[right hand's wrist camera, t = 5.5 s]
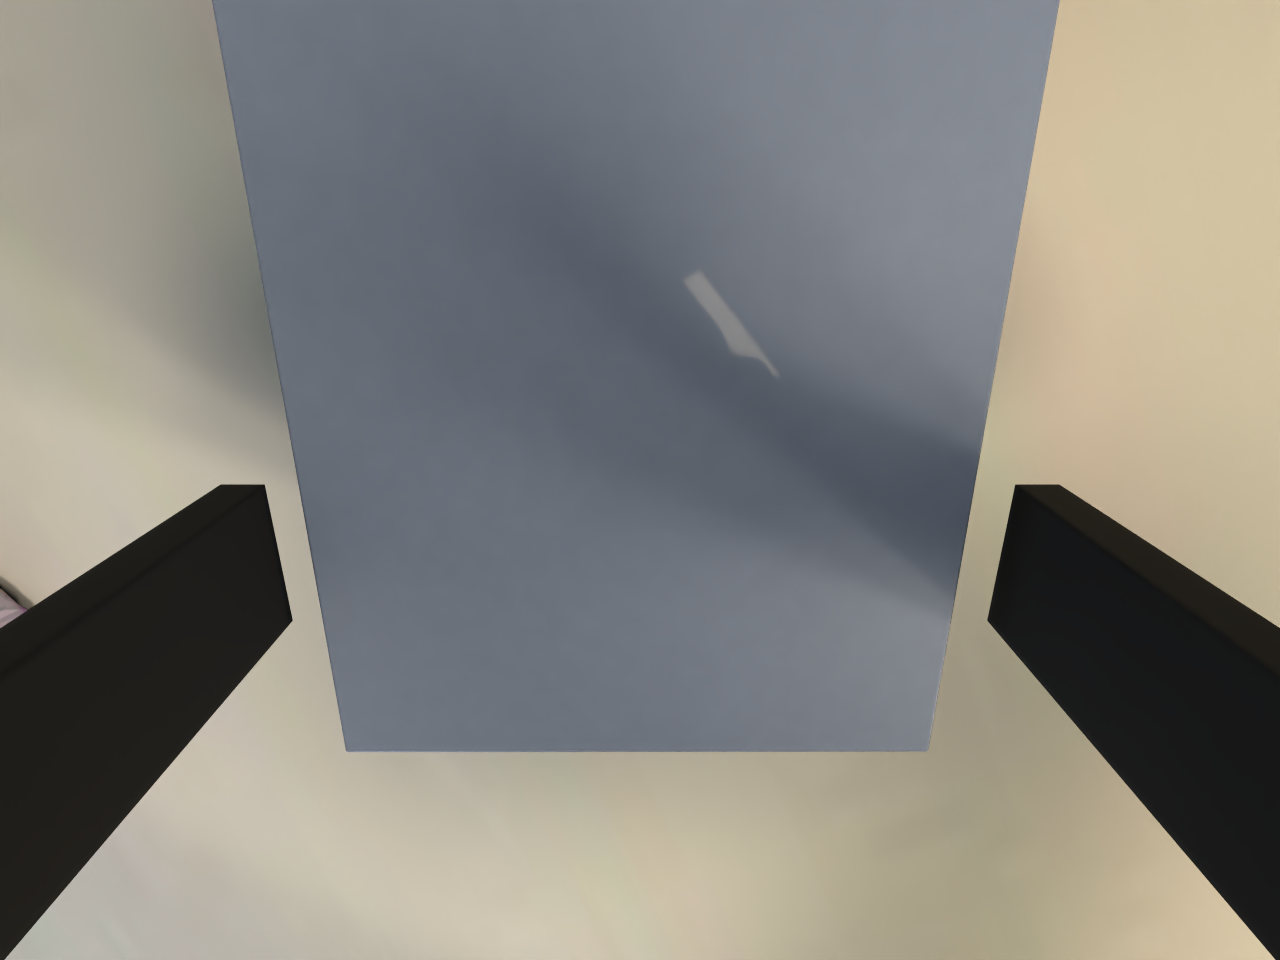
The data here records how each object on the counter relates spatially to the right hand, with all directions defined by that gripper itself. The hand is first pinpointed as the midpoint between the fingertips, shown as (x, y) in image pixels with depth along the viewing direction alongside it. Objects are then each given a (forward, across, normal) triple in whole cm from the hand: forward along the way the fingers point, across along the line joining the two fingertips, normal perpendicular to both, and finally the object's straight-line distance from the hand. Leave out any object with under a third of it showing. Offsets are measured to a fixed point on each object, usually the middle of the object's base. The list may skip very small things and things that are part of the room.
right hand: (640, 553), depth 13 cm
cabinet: (+8, 0, -7) cm, 11 cm away
